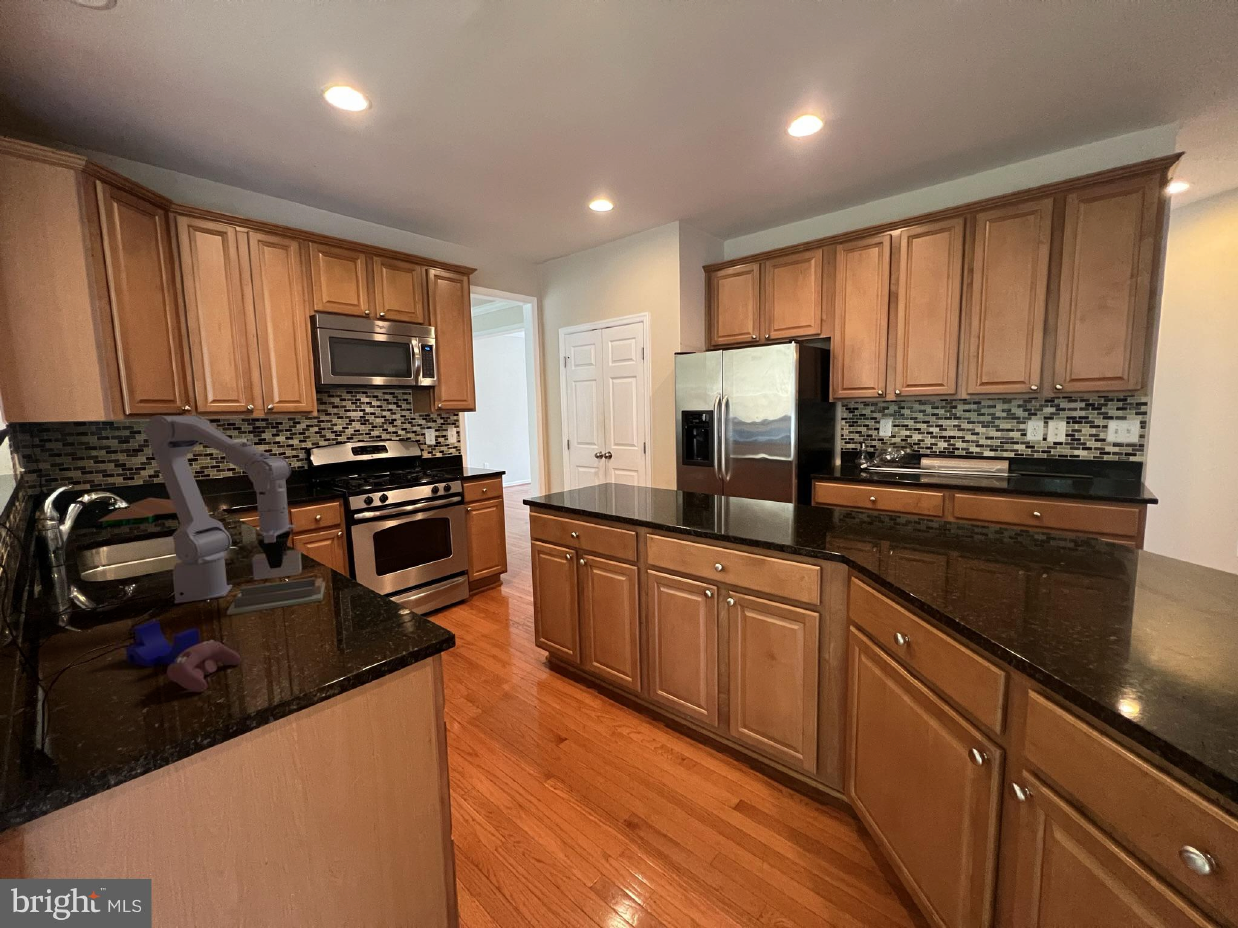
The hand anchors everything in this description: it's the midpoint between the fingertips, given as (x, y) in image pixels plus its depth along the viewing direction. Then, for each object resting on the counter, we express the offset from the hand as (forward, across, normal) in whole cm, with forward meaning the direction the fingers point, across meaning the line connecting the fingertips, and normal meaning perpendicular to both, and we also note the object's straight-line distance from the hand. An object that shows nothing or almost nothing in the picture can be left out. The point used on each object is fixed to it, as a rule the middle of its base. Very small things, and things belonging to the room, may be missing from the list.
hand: (277, 564), depth 117 cm
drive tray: (+8, 0, 0) cm, 8 cm away
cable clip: (+9, -26, +14) cm, 30 cm away
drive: (+2, 0, 0) cm, 2 cm away
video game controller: (+9, -36, +6) cm, 38 cm away
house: (+9, +132, +62) cm, 146 cm away
